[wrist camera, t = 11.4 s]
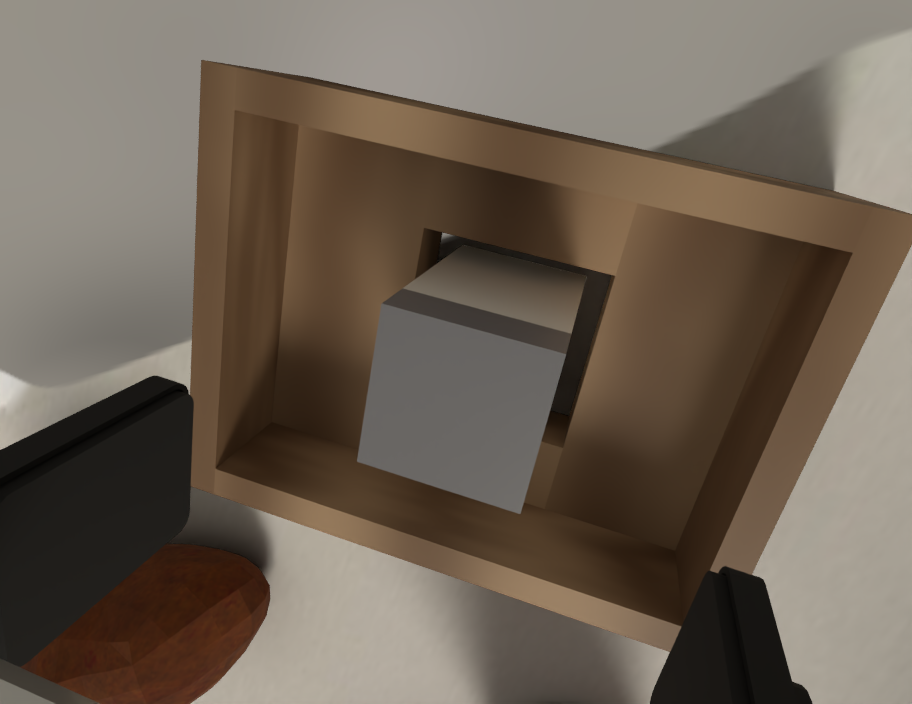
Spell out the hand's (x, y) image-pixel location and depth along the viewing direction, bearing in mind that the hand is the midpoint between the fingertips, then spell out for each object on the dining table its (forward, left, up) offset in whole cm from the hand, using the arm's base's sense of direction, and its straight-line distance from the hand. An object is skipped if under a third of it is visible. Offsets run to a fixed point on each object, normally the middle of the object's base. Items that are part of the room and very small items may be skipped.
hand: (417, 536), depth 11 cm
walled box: (+1, 0, -13) cm, 13 cm away
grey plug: (+1, 0, -13) cm, 13 cm away
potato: (+13, +17, -13) cm, 25 cm away
